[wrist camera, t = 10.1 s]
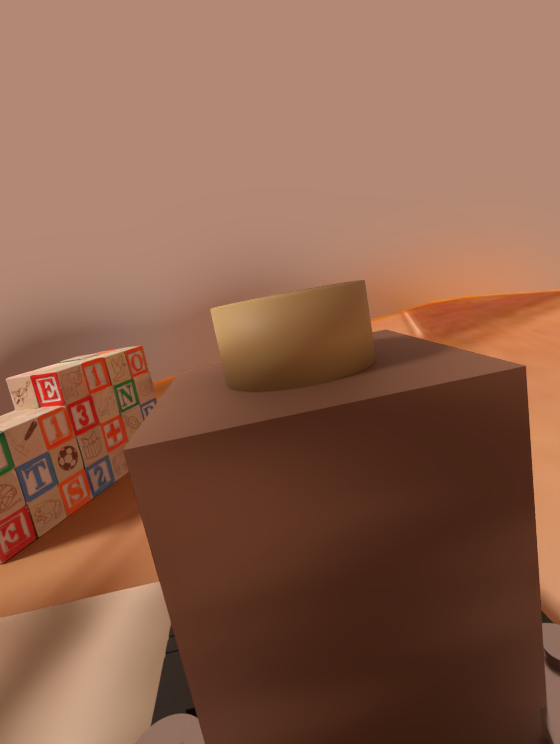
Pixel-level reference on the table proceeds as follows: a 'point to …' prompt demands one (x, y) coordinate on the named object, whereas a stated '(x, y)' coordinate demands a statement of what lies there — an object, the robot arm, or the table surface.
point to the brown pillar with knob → (346, 531)
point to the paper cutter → (83, 669)
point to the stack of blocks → (67, 438)
